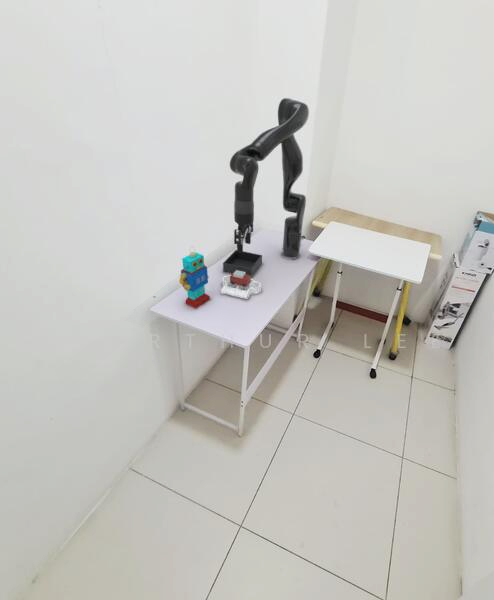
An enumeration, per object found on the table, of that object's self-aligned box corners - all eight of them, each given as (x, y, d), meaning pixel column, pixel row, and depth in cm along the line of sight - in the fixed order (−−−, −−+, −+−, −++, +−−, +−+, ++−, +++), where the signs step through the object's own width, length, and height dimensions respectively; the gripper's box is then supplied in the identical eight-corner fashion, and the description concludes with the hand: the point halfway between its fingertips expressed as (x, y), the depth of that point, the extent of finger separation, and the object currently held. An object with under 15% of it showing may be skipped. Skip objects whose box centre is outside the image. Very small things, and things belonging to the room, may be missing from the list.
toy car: (229, 283, 146) (229, 273, 143) (233, 278, 149) (233, 268, 146) (246, 287, 144) (247, 277, 141) (250, 282, 148) (250, 272, 145)
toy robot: (192, 310, 134) (186, 255, 119) (181, 304, 136) (174, 250, 122) (212, 297, 142) (209, 244, 128) (202, 292, 145) (197, 239, 130)
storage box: (235, 258, 172) (235, 249, 169) (261, 264, 169) (262, 255, 166) (223, 272, 159) (222, 263, 157) (251, 278, 157) (251, 269, 154)
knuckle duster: (214, 293, 145) (228, 277, 156) (253, 302, 142) (264, 285, 153) (214, 287, 143) (228, 271, 154) (253, 296, 140) (265, 279, 151)
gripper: (246, 218, 122) (246, 257, 132) (259, 205, 134) (258, 242, 143) (227, 214, 124) (228, 253, 133) (242, 202, 135) (242, 238, 144)
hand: (244, 247), depth 138 cm, fingers open, 8 cm apart
